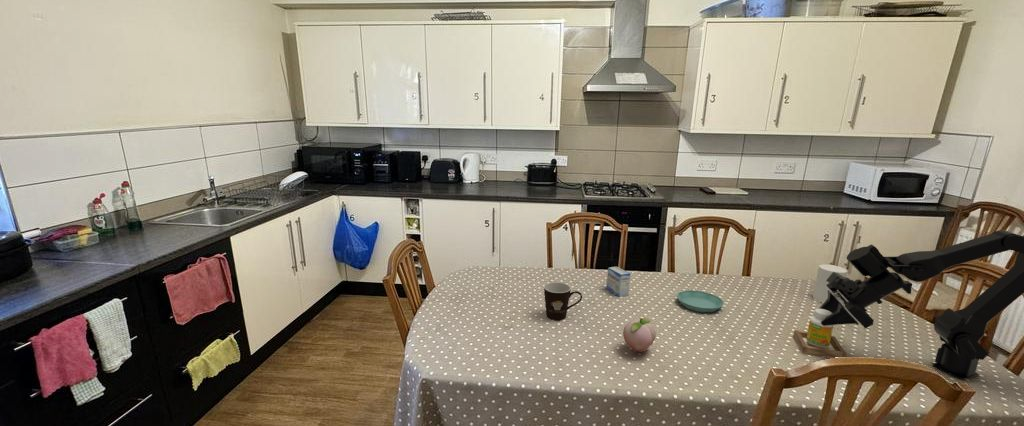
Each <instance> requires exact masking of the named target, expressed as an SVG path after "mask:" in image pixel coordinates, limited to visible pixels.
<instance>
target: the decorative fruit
mask: <svg viewBox="0 0 1024 426" xmlns="http://www.w3.org/2000/svg"><path fill="white" fill-rule="evenodd" d="M651 322H652V320H651V319H649V318H648V317H640V319H637V318H635V319H632V320H630V321H628V322H627V323H626V324H625V325H624V327H623V329H622V331H623V332H622V335H623V339H624V342H625V343H626V345H627V347H628V348H630V349H631V350H633V351H636V352H639V353H640V352H645V351H646V350H648V349H649V348H650V346H652V345H653V343H654V341H655V340H656V338H657V331H656V328H655V327H654V325H653V324H652V323H651Z"/></svg>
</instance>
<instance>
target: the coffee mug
mask: <svg viewBox="0 0 1024 426" xmlns="http://www.w3.org/2000/svg"><path fill="white" fill-rule="evenodd" d="M571 287H572V286H570V285H569V284H568V283H565V282H559V281H553V282H548V283H545V284H544V285H543V293H544V294H543V295H544V304H545V315H546V316H545V317H546V318H547V319H549V320H551V321H554V322H555V321H557V322H561V321H564V320H566V318H567V314H568V310H569V309H571V308H573V307H574V306H577V304H579V303H580V302H581V301H582V300H583V294H582V293H581V292H580V291H577V290H576V291H575V290H574V291H572V292H571V290H572V288H571ZM574 294H578V295H579V296H580V297H579V300H578V301H576V302H574V303H573V304H571V305H569V303H570V298H571V297H572V295H574Z"/></svg>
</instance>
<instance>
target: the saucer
mask: <svg viewBox="0 0 1024 426" xmlns="http://www.w3.org/2000/svg"><path fill="white" fill-rule="evenodd" d="M676 298H677V299H678V301H679V302H680V303H681V305H683V306H684V308H686V309H689V310H691V311H695V312H699V313H712V312H715V311H717V310H719V309H720V308H722V307H723V306H724V305H725V304H724V300H722V298H721V297H719V296H717V295H714V294H713V293H710V292H706V291H701V290H689V289H688V290H683V291H679V292H678V293H677V294H676Z"/></svg>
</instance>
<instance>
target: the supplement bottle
mask: <svg viewBox="0 0 1024 426" xmlns="http://www.w3.org/2000/svg"><path fill="white" fill-rule="evenodd" d="M813 313H814V314H813V315H812V316H810V319H809V323H808V329H807V332H808V334H807V342H808V343H810V344H811V345H814V346H817V347H821V348H827V347H829V345H830V341H831V336H833V330H834V326H835V325H826V326H823V325H822V324H821V321H823V320H824V319H825V318H827V317H828V316H829V315H831V314H832V313H831V312H830V311H828V310H825V309H819V308H815V309H814V311H813Z"/></svg>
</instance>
